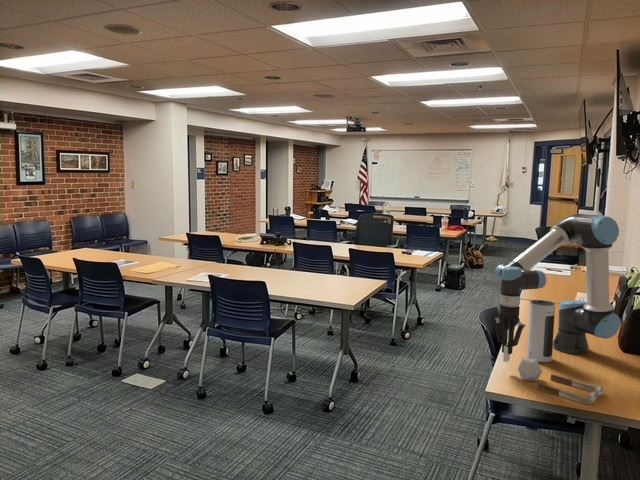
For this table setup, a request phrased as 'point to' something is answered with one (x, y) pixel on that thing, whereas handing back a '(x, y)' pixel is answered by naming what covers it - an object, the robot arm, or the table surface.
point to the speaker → (541, 330)
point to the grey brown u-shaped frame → (589, 400)
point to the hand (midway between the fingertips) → (506, 360)
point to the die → (529, 369)
